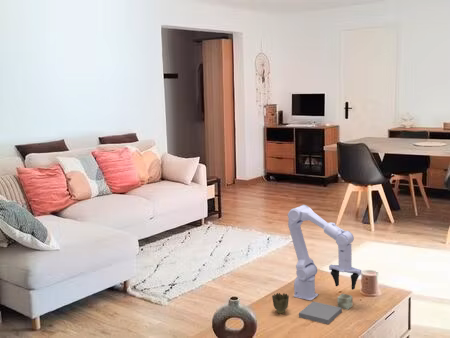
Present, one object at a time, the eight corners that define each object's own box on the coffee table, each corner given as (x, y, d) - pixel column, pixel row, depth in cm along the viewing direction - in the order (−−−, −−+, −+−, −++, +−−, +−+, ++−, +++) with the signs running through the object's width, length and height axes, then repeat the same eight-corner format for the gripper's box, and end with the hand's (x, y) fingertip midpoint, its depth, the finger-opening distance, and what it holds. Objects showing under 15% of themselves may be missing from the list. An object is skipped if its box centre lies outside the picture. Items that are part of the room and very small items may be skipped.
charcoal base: (298, 317, 229) (298, 312, 228) (313, 305, 240) (313, 301, 239) (328, 324, 220) (328, 319, 220) (341, 312, 232) (341, 307, 231)
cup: (290, 310, 236) (290, 293, 235) (287, 317, 229) (286, 299, 228) (274, 308, 239) (274, 292, 237) (271, 315, 232) (270, 298, 230)
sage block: (337, 307, 236) (337, 297, 236) (342, 303, 240) (341, 293, 240) (348, 310, 234) (347, 299, 233) (352, 306, 237) (352, 295, 237)
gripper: (326, 258, 234) (326, 287, 236) (357, 263, 226) (357, 293, 228) (332, 254, 240) (332, 282, 242) (363, 258, 232) (363, 287, 234)
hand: (345, 287), depth 235 cm, fingers open, 7 cm apart
